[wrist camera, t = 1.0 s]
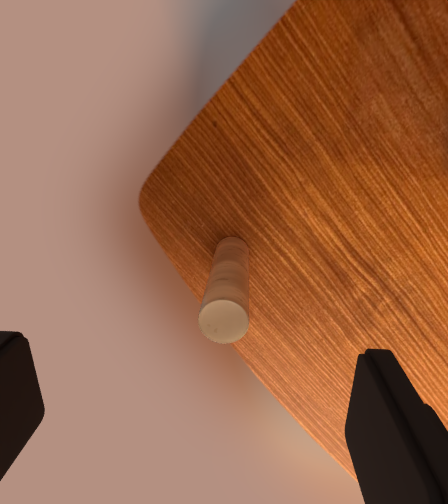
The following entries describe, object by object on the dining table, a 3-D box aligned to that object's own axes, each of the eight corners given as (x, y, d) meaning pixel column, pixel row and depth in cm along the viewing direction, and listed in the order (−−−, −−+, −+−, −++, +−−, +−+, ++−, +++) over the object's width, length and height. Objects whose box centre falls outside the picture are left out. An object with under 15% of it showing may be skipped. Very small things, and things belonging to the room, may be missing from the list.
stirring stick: (209, 246, 32) (188, 314, 21) (237, 230, 31) (231, 291, 20) (226, 273, 33) (215, 351, 22) (255, 257, 32) (258, 330, 21)
